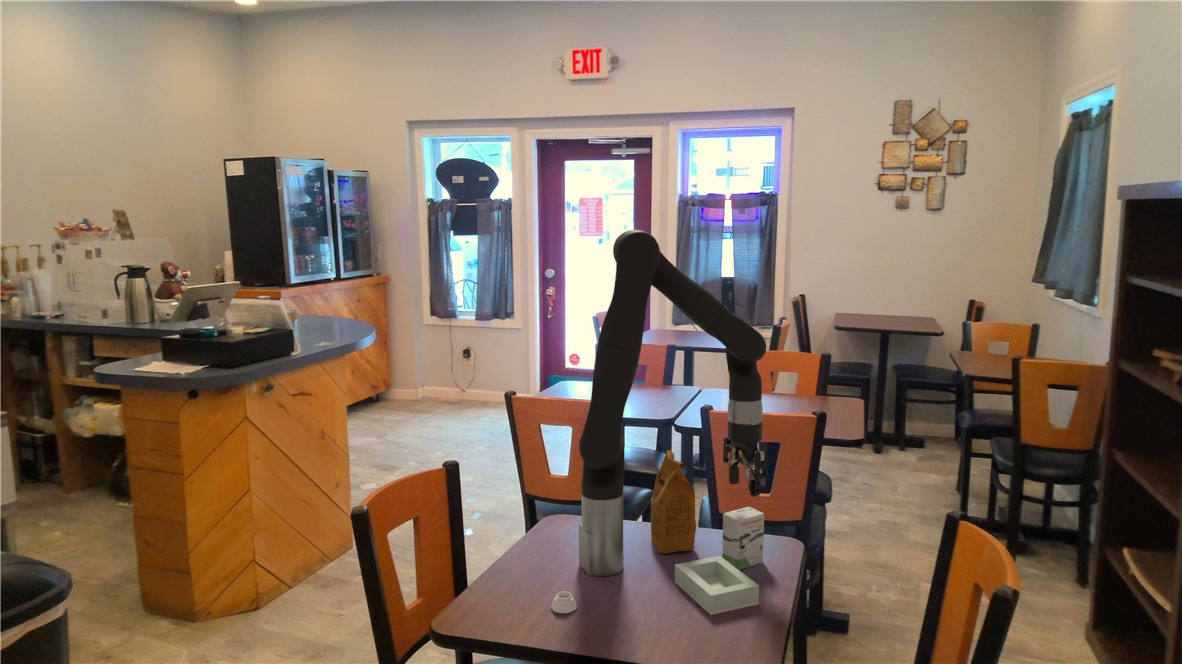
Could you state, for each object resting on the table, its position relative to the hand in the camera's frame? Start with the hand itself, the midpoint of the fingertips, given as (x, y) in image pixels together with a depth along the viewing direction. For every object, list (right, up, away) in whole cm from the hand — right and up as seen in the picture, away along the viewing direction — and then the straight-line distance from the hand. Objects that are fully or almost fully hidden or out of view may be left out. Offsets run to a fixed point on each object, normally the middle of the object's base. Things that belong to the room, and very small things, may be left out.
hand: (744, 489), depth 169 cm
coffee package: (-15, -16, +13) cm, 25 cm away
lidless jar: (-40, -21, -17) cm, 48 cm away
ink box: (0, -17, +2) cm, 18 cm away
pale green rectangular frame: (-8, -19, -11) cm, 24 cm away
